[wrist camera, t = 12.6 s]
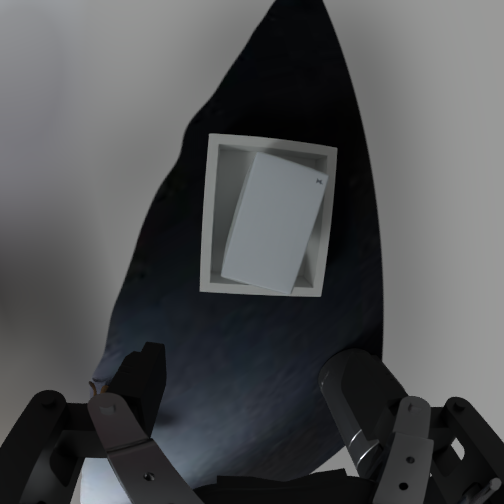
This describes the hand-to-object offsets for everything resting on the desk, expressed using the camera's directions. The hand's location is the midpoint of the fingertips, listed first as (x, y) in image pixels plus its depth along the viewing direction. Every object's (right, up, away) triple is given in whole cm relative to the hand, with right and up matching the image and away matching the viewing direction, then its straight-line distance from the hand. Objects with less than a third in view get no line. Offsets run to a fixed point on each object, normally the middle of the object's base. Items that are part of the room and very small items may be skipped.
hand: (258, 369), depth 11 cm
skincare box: (+1, +9, +21) cm, 23 cm away
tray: (+1, +9, +22) cm, 24 cm away
